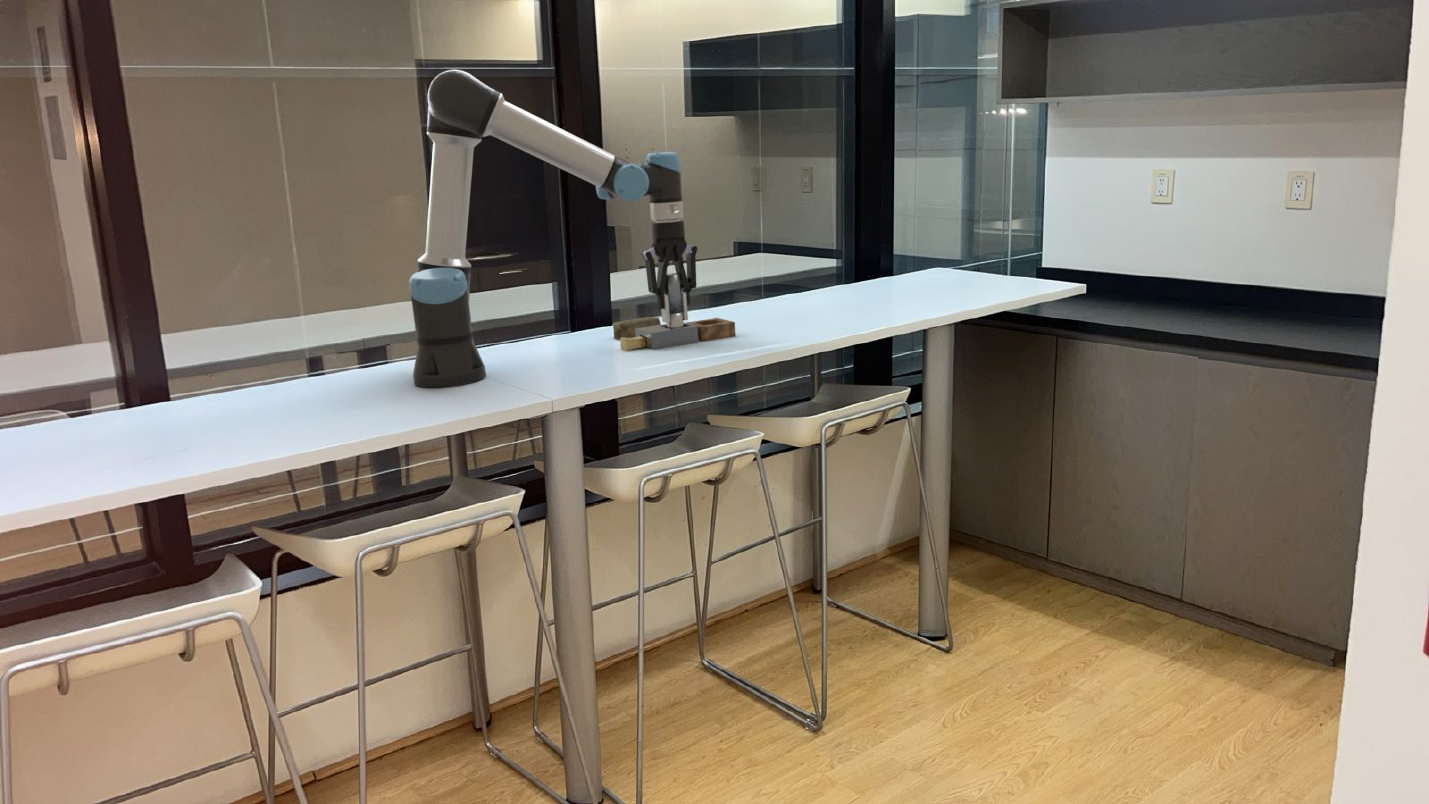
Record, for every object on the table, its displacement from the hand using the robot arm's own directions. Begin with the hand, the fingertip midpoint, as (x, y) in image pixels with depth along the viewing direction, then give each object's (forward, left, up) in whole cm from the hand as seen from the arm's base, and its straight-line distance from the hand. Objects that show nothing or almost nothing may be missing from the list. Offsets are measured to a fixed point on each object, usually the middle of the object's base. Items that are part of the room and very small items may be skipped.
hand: (675, 320), depth 250 cm
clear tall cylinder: (0, 0, -5) cm, 5 cm away
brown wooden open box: (+9, 0, -6) cm, 11 cm away
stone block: (-3, +15, -6) cm, 17 cm away
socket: (-2, 0, -6) cm, 6 cm away
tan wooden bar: (-9, 0, -5) cm, 11 cm away
